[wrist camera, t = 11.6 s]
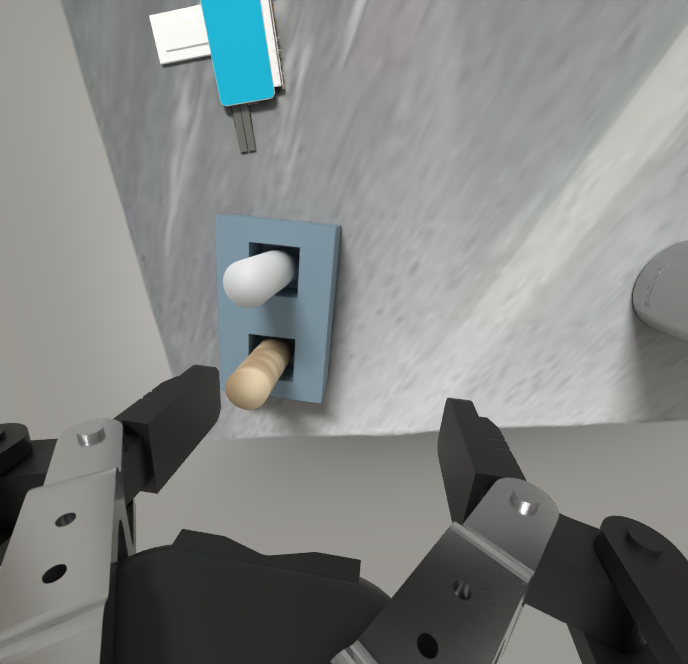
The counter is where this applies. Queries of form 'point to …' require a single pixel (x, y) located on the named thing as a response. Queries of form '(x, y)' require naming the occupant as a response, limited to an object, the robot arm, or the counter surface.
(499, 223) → the counter surface
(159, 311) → the counter surface
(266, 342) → the beech pin
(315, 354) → the bore block
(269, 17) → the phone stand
